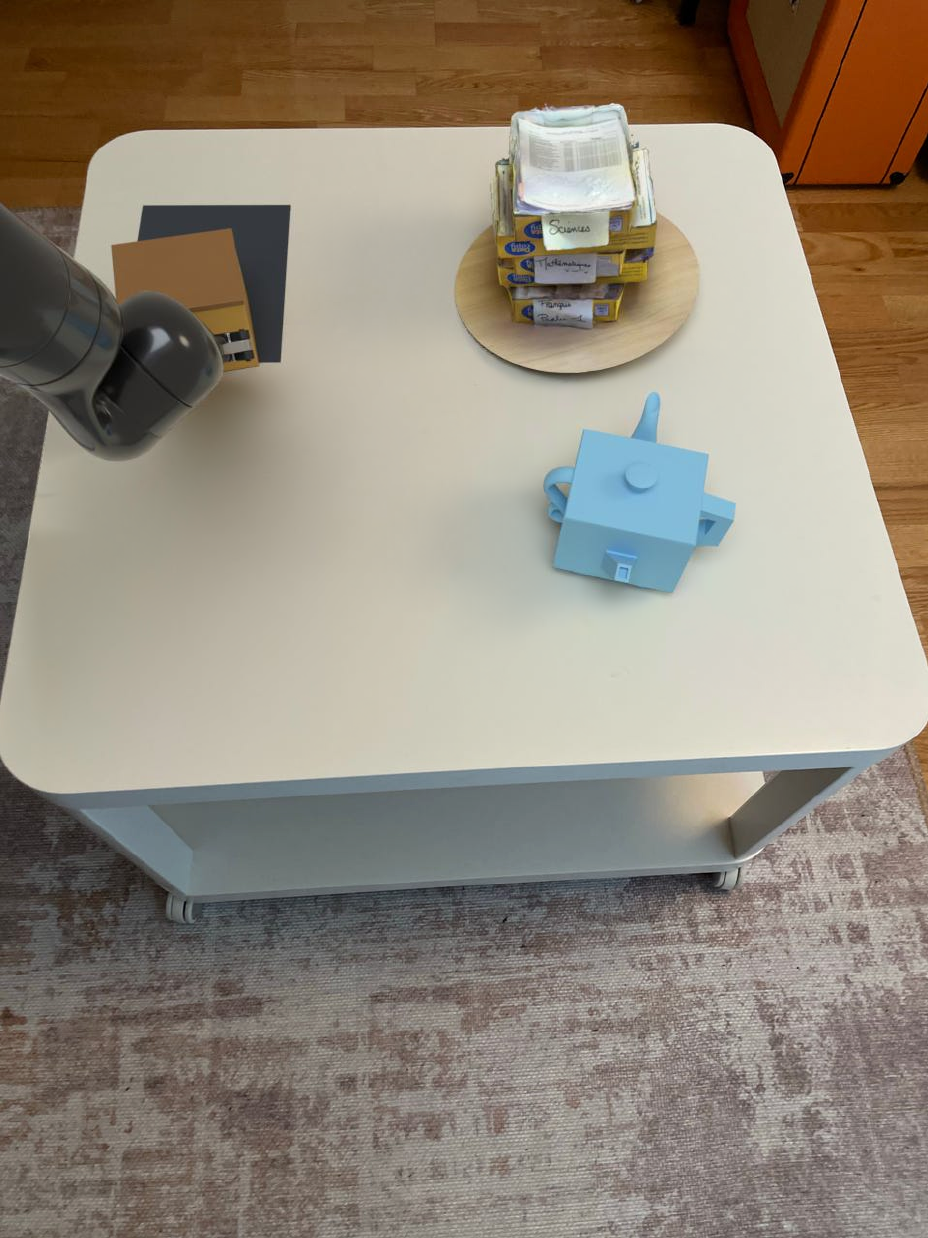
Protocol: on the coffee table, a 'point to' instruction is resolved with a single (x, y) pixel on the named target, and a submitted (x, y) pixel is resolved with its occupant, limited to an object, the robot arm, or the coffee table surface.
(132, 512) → the coffee table surface
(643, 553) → the teapot
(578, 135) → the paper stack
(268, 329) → the mat
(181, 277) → the toy box
